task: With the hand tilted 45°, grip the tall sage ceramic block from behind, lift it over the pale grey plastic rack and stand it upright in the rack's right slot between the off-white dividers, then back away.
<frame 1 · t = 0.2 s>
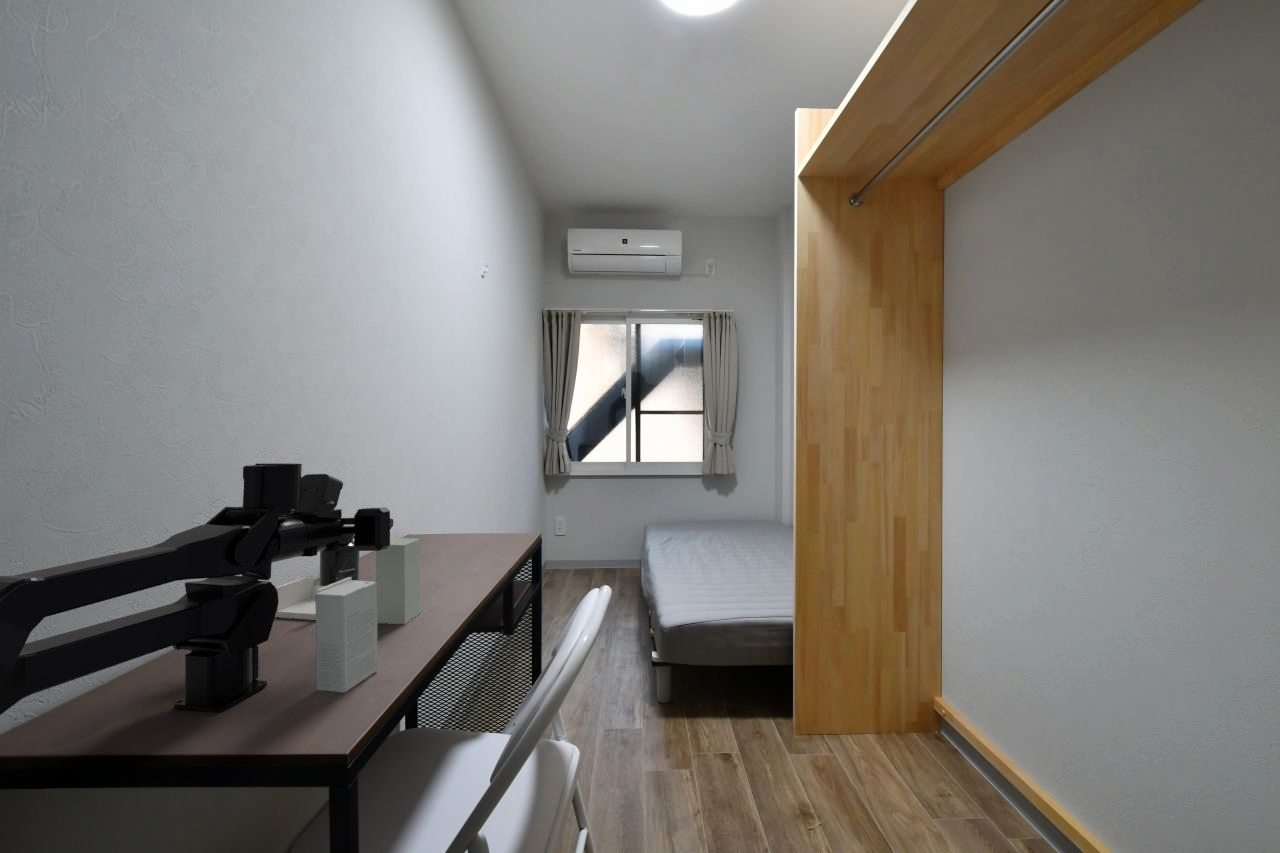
hand: (367, 522, 88), 16 cm above the table, tool horizontal, fingers open, 9 cm apart
supplement bottle: (339, 591, 104), on the table
sage ceramic block: (398, 618, 89), on the table
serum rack: (334, 611, 92), on the table
skincare box: (347, 682, 67), on the table
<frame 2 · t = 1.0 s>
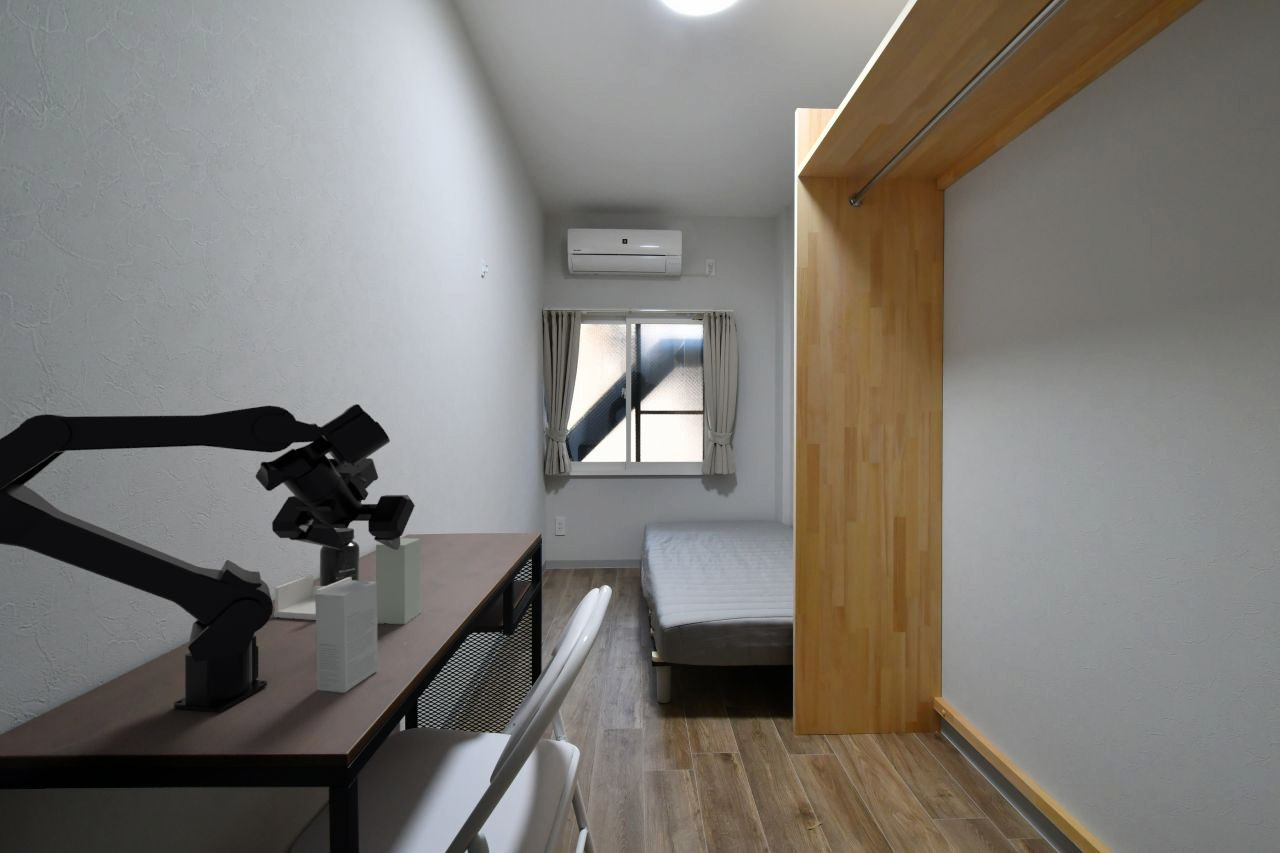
hand: (370, 546, 81), 14 cm above the table, tool tilted 45°, fingers open, 9 cm apart
nothing on the table moved.
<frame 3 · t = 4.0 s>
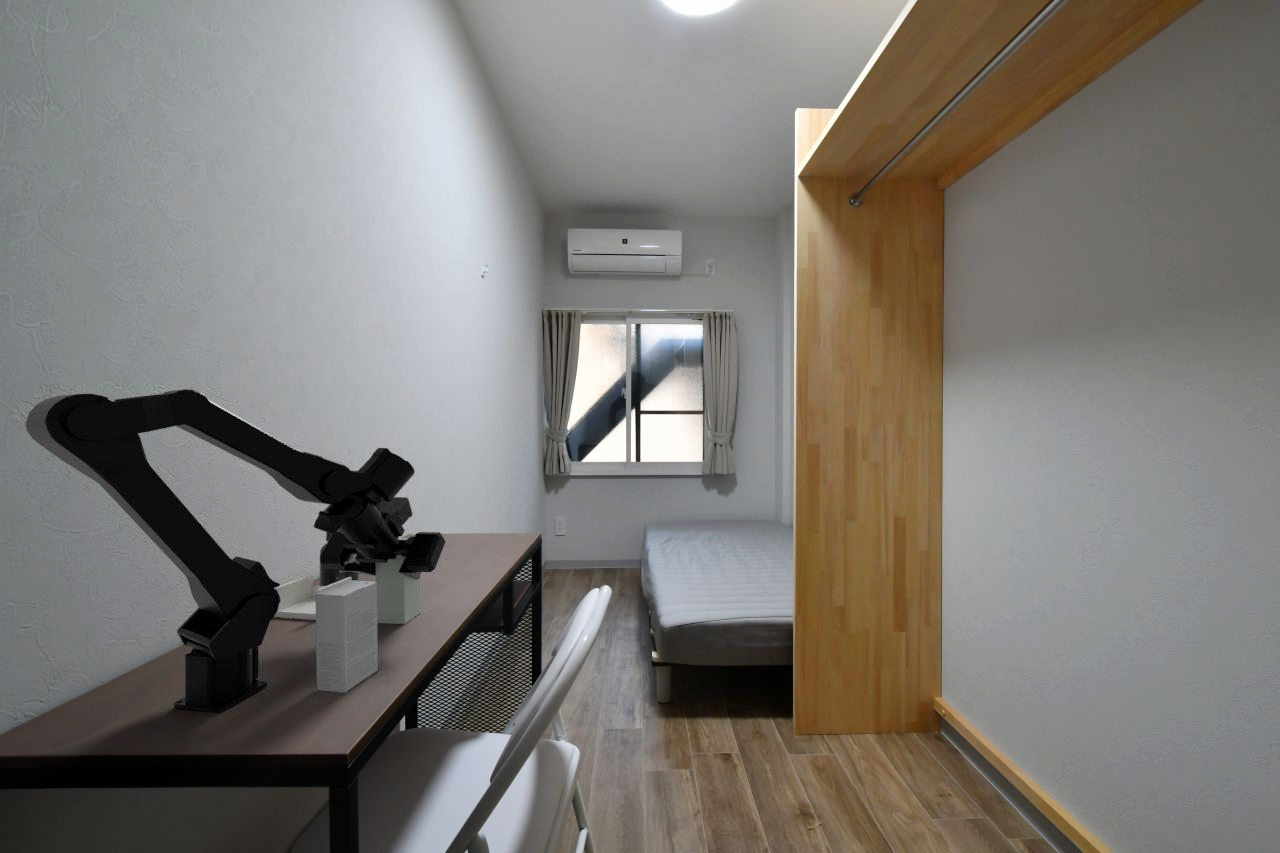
hand: (403, 576, 90), 7 cm above the table, tool tilted 45°, fingers closed on sage ceramic block, 5 cm apart
sage ceramic block: (398, 617, 89), on the table, touching gripper
everything else where it was.
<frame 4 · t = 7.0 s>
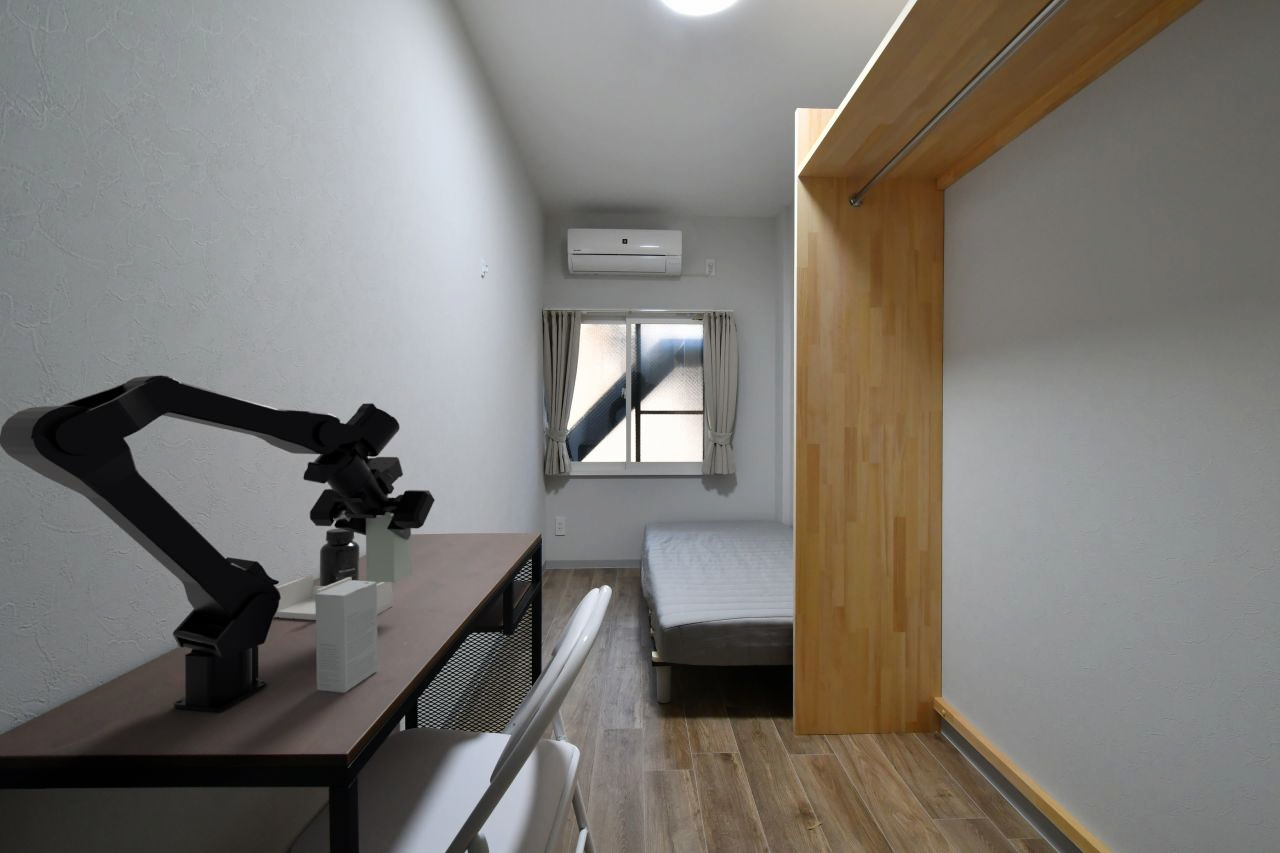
hand: (393, 536, 90), 13 cm above the table, tool tilted 45°, fingers closed on sage ceramic block, 5 cm apart
sage ceramic block: (389, 577, 89), point 7 cm above the table, touching gripper
everything else where it was.
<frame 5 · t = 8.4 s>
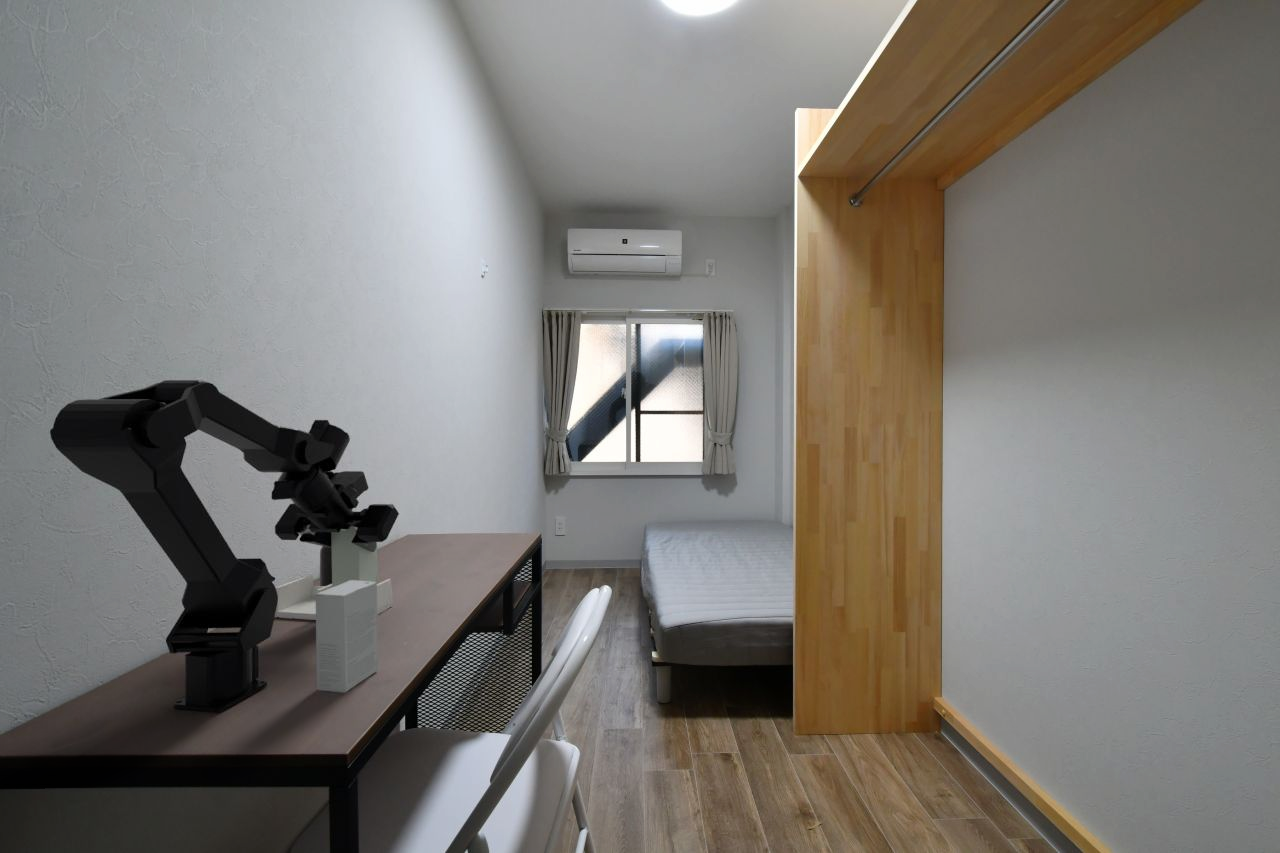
hand: (360, 549, 92), 11 cm above the table, tool tilted 45°, fingers closed on sage ceramic block, 5 cm apart
sage ceramic block: (355, 589, 91), point 4 cm above the table, touching gripper
everything else where it was.
when the fingers open (8 cm above the table, at t = 9.7 s): sage ceramic block stays where it is, resting on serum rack.
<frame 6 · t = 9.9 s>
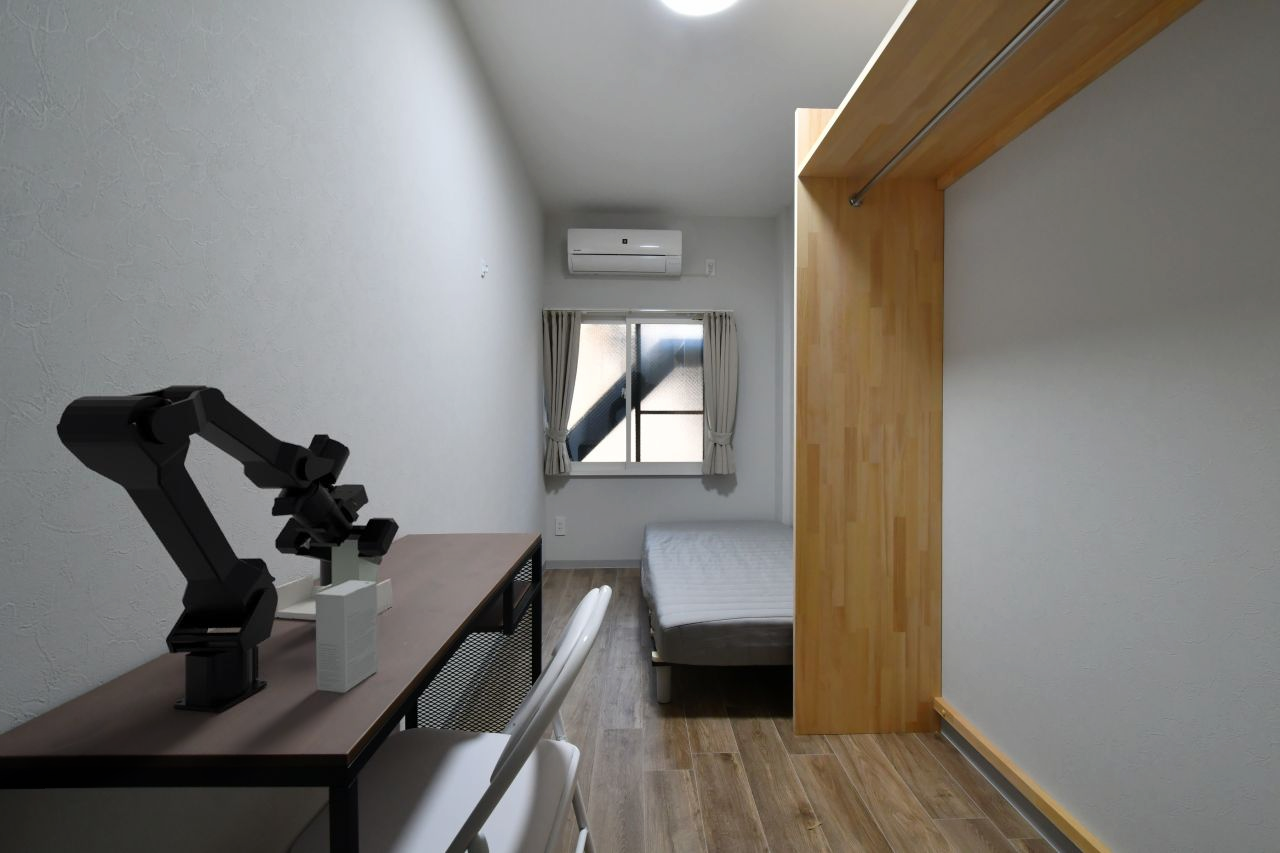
hand: (360, 561, 92), 9 cm above the table, tool tilted 45°, fingers open, 7 cm apart
sage ceramic block: (355, 607, 91), point 1 cm above the table, touching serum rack
everything else where it was.
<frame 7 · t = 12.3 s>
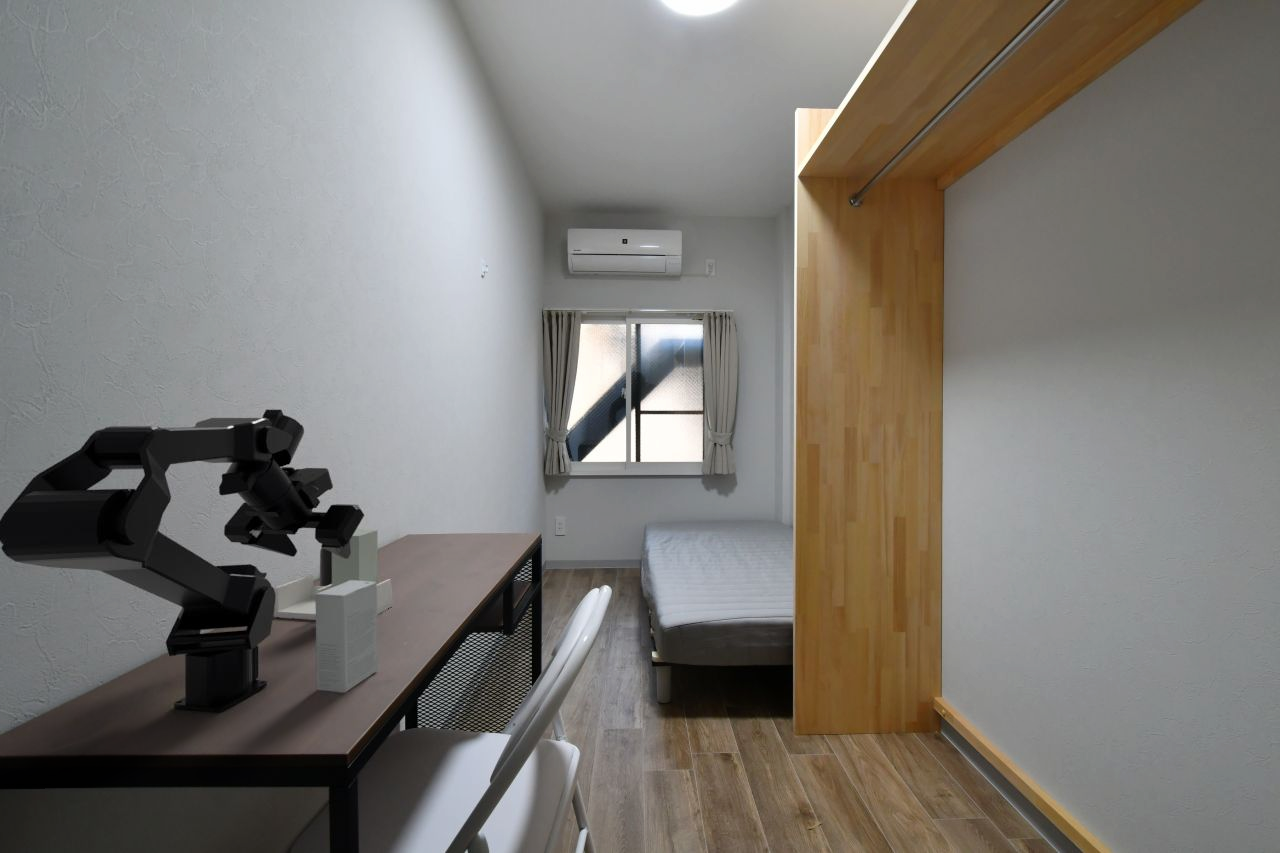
hand: (321, 555, 83), 12 cm above the table, tool tilted 40°, fingers open, 9 cm apart
nothing on the table moved.
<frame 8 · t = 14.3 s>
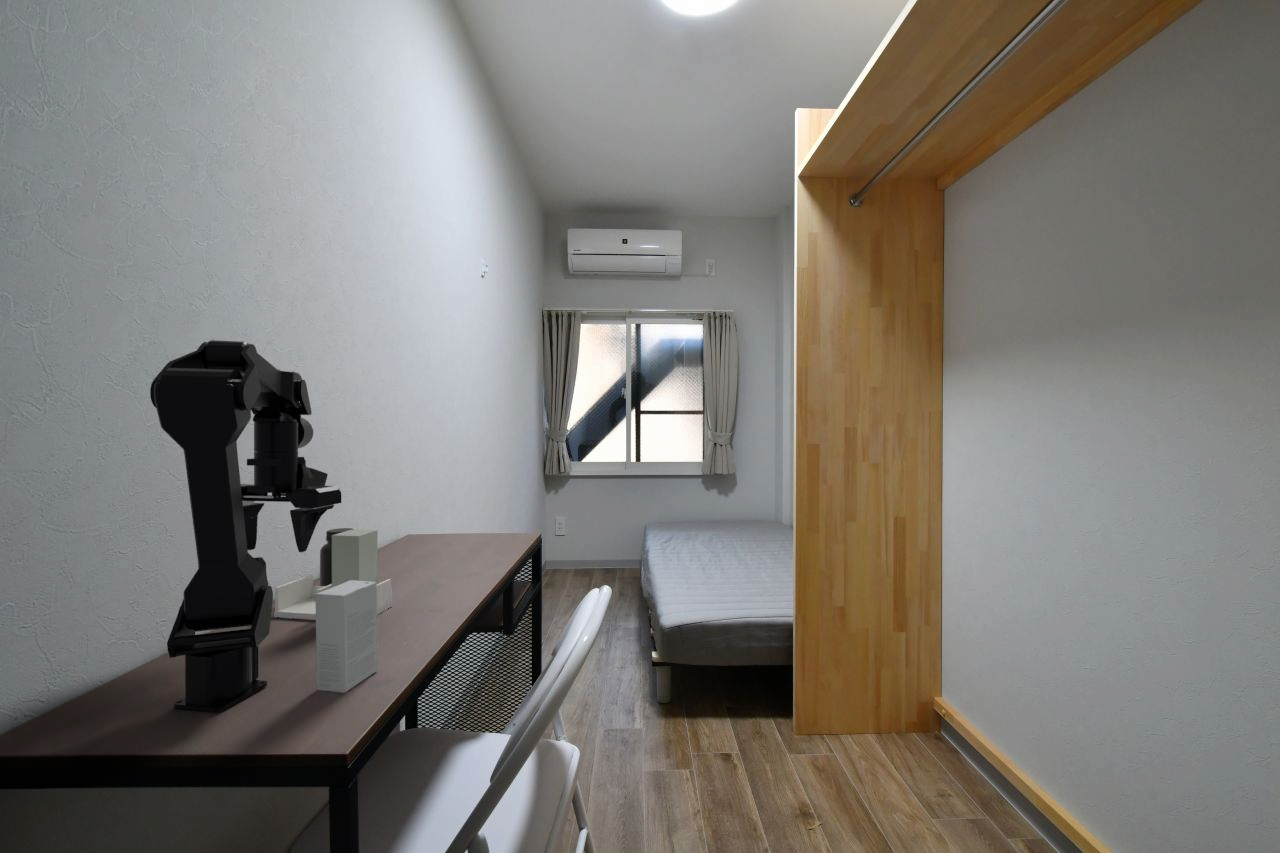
hand: (276, 550, 82), 13 cm above the table, tool pointing down, fingers open, 9 cm apart
nothing on the table moved.
at the end: sage ceramic block 0.1 cm from the target spot on the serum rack, point 1.0 cm above the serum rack's base; sage ceramic block tilted 0°; the gripper is holding nothing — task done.
